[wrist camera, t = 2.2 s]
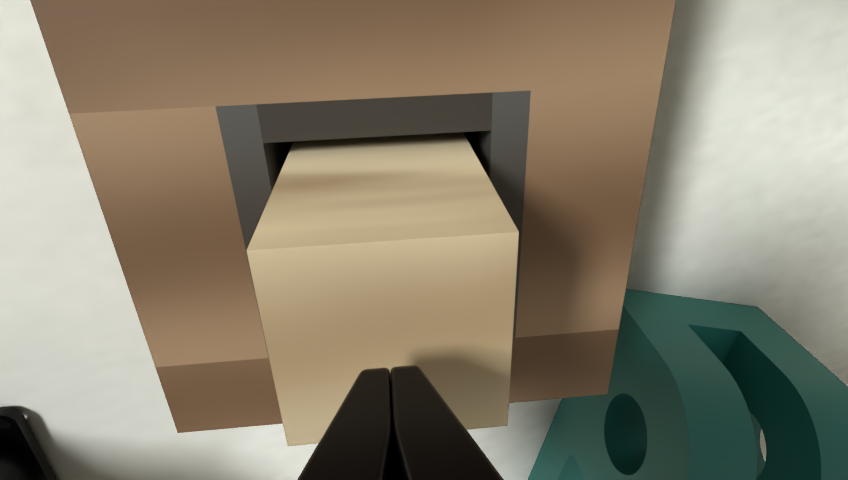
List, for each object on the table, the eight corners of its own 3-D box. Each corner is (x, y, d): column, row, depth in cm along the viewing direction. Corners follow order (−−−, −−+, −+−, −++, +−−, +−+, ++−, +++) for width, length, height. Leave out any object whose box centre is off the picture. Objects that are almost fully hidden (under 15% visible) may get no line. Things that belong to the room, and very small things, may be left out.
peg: (460, 268, 15) (507, 426, 10) (316, 279, 15) (287, 446, 9) (460, 127, 13) (518, 231, 8) (295, 137, 13) (246, 250, 8)
